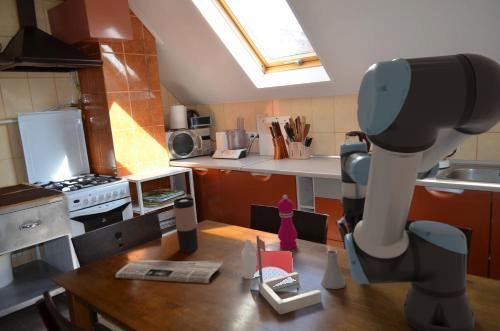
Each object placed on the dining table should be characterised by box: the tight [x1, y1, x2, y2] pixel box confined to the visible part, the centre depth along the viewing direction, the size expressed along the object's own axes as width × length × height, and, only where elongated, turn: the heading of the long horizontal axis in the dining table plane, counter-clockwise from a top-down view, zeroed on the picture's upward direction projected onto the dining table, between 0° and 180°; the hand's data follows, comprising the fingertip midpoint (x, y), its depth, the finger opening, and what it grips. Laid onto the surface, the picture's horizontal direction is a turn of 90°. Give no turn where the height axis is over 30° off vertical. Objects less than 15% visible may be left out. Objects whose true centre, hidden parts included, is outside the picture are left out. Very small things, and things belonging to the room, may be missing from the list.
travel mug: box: [173, 196, 199, 253], centre depth 146 cm, size 8×8×20 cm
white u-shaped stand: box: [256, 235, 323, 315], centre depth 104 cm, size 14×12×17 cm
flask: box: [320, 249, 347, 290], centre depth 109 cm, size 7×7×10 cm
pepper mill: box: [277, 194, 298, 251], centre depth 140 cm, size 7×7×20 cm
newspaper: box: [115, 258, 224, 284], centre depth 127 cm, size 35×12×4 cm, turn 74°
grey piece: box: [240, 238, 258, 280], centre depth 119 cm, size 6×12×6 cm
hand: (357, 270), depth 113 cm, fingers closed
